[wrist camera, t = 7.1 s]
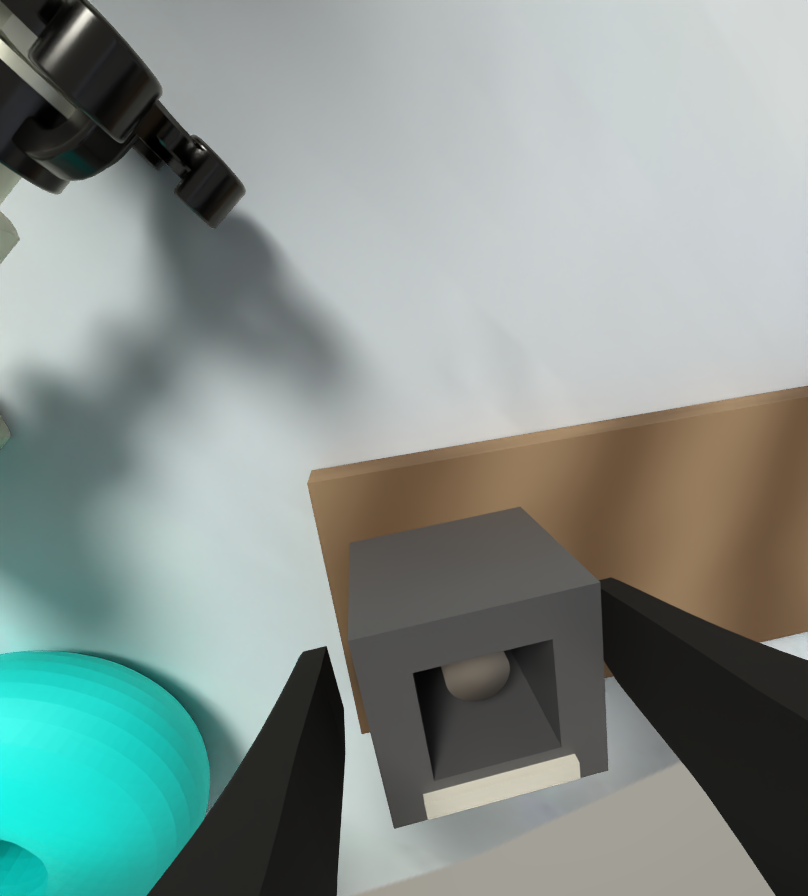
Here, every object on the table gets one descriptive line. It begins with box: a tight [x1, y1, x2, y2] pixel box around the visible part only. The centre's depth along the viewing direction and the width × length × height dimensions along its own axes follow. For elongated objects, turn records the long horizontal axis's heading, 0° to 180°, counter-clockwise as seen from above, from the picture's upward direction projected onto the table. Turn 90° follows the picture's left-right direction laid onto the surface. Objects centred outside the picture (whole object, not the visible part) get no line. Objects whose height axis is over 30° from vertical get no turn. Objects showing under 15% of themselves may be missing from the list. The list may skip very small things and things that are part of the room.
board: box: [307, 386, 808, 734], centre depth 12 cm, size 18×9×4 cm, turn 98°
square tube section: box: [348, 507, 608, 829], centre depth 10 cm, size 5×5×4 cm
